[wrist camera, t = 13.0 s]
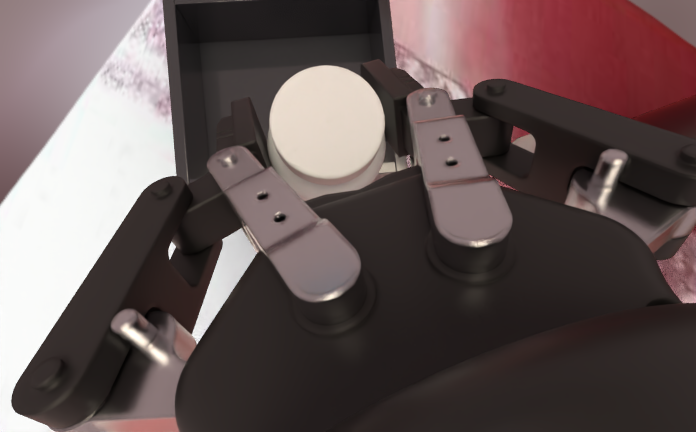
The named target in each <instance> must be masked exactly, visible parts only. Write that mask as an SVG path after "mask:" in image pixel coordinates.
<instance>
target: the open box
mask: <svg viewBox="0 0 696 432" xmlns="http://www.w3.org/2000/svg"><path fill="white" fill-rule="evenodd" d="M163 12H164V24H165V37H166V49H167V62H168V74H169V87H170V99H171V112H172V124H173V137H174V149H175V162H176V174H177V176H178V177H181V178H183V179H184V181H185V182H186V184H187V185H188V184H190V183H192V182H194V181H196V180H198V179H199V178H201V177H203V176H204V175H206V174H207V173H208V172H210V171H209V169H208V168H207V162H208V160H209V159H210V157H211V156H212V155H214V154H215V153H217V125H218V123H219V122H220V120H221V119H222V118H224V117H228V116H231V115H232V114H231V102H233V101H236V100H239V99H243V98H246V97H250V99H251V101H252V104H253V106H254V109H255V111H256V114H257V117H258V119H259V122H260V124H261V127H262V129H263V132H264V135H265V137H266V140H267V139H268V132H269V128H270V126H269V118H270V111H271V107H272V104H273V101H274V98H275V96H276V94H277V93H278V91H279V90H280V88H281V87H282V85H283V84H284V83H285V82H286V81H287V80H288V79H290V78H291V77H292V76H294V75H295V74H297V73H298V72H300V71H303V70H305V69H307V68H311V67H316V66H324V65H329V66H337V67H342V68H345V69H348V70H350V71H352V72H354V73H355V74H357V75H359V76H360V77H361V71H360V66H361V64H363V63H367V62H370V61H373V60H377V59H380V60H381V61H382V62H383V63H384V64H385V65H386V66H387V67H388V68H389V69H391V68H397V67H396V58H395V49H394V39H393V30H392V21H391V12H390V2H389V0H163ZM385 141H386V150H385V157H384V161H383V164H382V167H381V169H380V171H379V173H378V175H377V176H376V178H375V179H374V180H373V182H375V181H377V180H378V179H380V178H382V177H384V176H386V175H388V174H391V173H394V172H397V171H400V170H403V169H406V168H407V160H406V156H403V157H400V158H399V157H398V155H397V154H396V153H395V151H394V150H393V148H392V147H391V146H390V144H389V143H388V141H387V140H386V139H385ZM373 182H372V183H373Z"/></svg>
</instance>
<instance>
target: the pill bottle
mask: <svg viewBox="0 0 696 432" xmlns="http://www.w3.org/2000/svg"><path fill="white" fill-rule="evenodd" d="M269 126H270V128H269V132H268V139H267V148H268V155H269V159H270V163H271V165H272V168H273V169H274V170H275V171H276V172H277V173H278V174H279V175H280V176H281V177H282V178H283V179H284V180H285V181H286V182H287V183H288V185H289V186H290V187H291V188H292V189H293V190H294V191H295V192H296V193H297V194H298V195H299V196H300V197H301V198H302V199H303V200H304V201H307V200H310V199H313V198H316V197H319V196H322V195H326V194H332V193H339V192H346V191H353V190H359V189H361V188H363V187H365V186H367V185H369V184H371V183H372V182H373V180H374V179H375V178H376V176H377V175H378V173H379V171H380V169H381V167H382V164H383V161H384V157H385V150H386V141H385V133H384V130H385V115H384V112H383V108H382V104H381V102H380V99H379V97H378V96H377V94H376V92H375V91H374V90H373V88H372V87H371V86H370V85H369V83H368V82H366V81H365V80H364V79H363V78H362V77H360V76H359V75H357V74H355V73H354V72H352V71H350V70H348V69H345V68H342V67H337V66H329V65H324V66H316V67H311V68H307V69H305V70H303V71H300V72H298V73H297V74H295V75H294V76H292V77H291V78H290V79H288V80H287V81H286V82H285V83H284V84H283V85H282V87H281V88H280V90H279V91H278V93H277V94H276V96H275V98H274V101H273V104H272V107H271V111H270V118H269Z"/></svg>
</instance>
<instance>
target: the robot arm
mask: <svg viewBox="0 0 696 432" xmlns="http://www.w3.org/2000/svg"><path fill="white" fill-rule="evenodd" d="M360 71H361V77H362V78H363V79H364V80H365V81H366V82H368V83H369V85H370V86H371V87H372V88H373V90H374V91H375V92H376V94H377V96H378V97H379V99H380V102H381V104H382V108H383V112H384V115H385V130H384V133H385V139H386V140H387V141H388V143H389V144H390V146H391V147H392V148H393V150H394V151H395V153H396V154H397V155H398V157H399V158H400V157H403V156H406V155H410V162H411V167H410V168H406V169H403V170H400V171H397V172H394V173H391V174H388V175H386V176H384V177H382V178H380V179H378V180H377V181H375V182H373V183H371V184H369V185H367V186H365V187H363V188H361V189H359V190H353V191H346V192H339V193H332V194H326V195H322V196H319V197H316V198H313V199H310V200H307V201H304V200H303V199H302V198H301V197H300V196H299V195H298V194H297V193H296V192H295V191H294V190H293V189H292V188H291V187H290V186H289V185H288V183H287V182H286V181H285V180H284V179H283V178H282V177H281V176H280V175H279V174H278V173H277V172H276V171H275V170H274V169H273V168H272V165H271V163H270V159H269V155H268V148H267V140H266V137H265V135H264V132H263V129H262V127H261V124H260V122H259V119H258V117H257V114H256V111H255V109H254V106H253V104H252V101H251V99H250V97H246V98H243V99H239V100H236V101H233V102H231V114H232V115H231V116H228V117H224V118H222V119H221V120H220V122H219V123H218V125H217V153H215V154H214V155H212V156H211V157H210V159H209V160H208V162H207V168H208V169H209V171H210V172H208V173H207V174H206V175H204V176H203V177H201V178H199V179H198V180H196V181H194V182H192V183H190V184H188V185H187V184H186V182H185V181H184V179H183V178H181V177H178V176H170V177H166V178H163V179H160V180H158V181H156V182H154V183H152V184H151V185H149V186H148V187H147V188H146V189H145V190H144V191H143V192H142V193H141V195H140V196H139V198H138V199H137V201H136V202H135V204H134V205H133V207H132V208H131V210H130V211H129V213H128V215H127V216H126V218H125V219H124V221H123V222H122V224H121V225H120V227H119V228H118V230H117V231H116V233H115V234H114V236H113V237H112V239H111V240H110V242H109V243H108V245H107V246H106V248H105V249H104V251H103V252H102V254H101V256H100V257H99V259H98V260H97V262H96V263H95V265H94V266H93V268H92V269H91V271H90V272H89V274H88V275H87V277H86V278H85V280H84V281H83V283H82V284H81V286H80V287H79V289H78V290H77V292H76V293H75V295H74V297H73V298H72V300H71V301H70V303H69V304H68V306H67V307H66V309H65V310H64V312H63V313H62V315H61V316H60V318H59V319H58V321H57V322H56V324H55V325H54V327H53V328H52V330H51V331H50V333H49V334H48V336H47V338H46V339H45V341H44V342H43V344H42V345H41V347H40V348H39V350H38V351H37V353H36V354H35V356H34V357H33V359H32V360H31V362H30V363H29V365H28V366H27V368H26V369H25V371H24V372H23V374H22V375H21V377H20V379H19V380H18V382H17V384H16V386H15V388H14V391H13V394H12V400H11V402H12V407H13V409H14V411H15V412H16V413H18V414H20V415H23V416H25V417H28V418H30V419H33V420H35V421H38V422H40V423H43V424H45V425H48V427H49V428H50V429H52V430H54V431H56V432H696V303H682V302H681V301H680V299H679V298H678V297H677V296H676V295H675V293H674V292H673V291H672V289H671V288H670V286H669V285H668V283H667V282H666V280H665V278H664V276H663V274H662V273H661V270H660V268H659V265H658V263H657V261H656V260H665V259H668V258H671V257H673V256H674V255H675V254H676V252H677V251H678V250H679V248H680V247H681V245H682V244H683V243H684V241H685V240H686V238H687V237H688V236H689V234H690V233H691V231H692V230H693V229H694V227H695V226H696V95H693V96H691V97H688V98H685V99H683V100H680V101H677V102H674V103H672V104H669V105H666V106H664V107H661V108H658V109H656V110H653V111H650V112H647V113H644V114H642V115H639V116H636V117H634V118H631V119H630V118H627V117H624V116H621V115H617V114H614V113H611V112H608V111H605V110H602V109H599V108H595V107H592V106H589V105H586V104H583V103H580V102H576V101H573V100H570V99H567V98H564V97H561V96H558V95H554V94H551V93H548V92H545V91H542V90H539V89H536V88H532V87H529V86H526V85H523V84H520V83H517V82H514V81H510V80H506V79H491V80H486V81H482V82H480V83H478V84H477V85H476V86H475V87H474V89H473V98H465V99H457V100H450V98H449V95H448V93H447V92H446V91H444V90H442V89H439V88H424V87H422V86H421V85H420V84H419V83H418V82H417V81H415V79H413V78H412V77H410V75H409V74H408V73H407V72H405V71H404V70H401V69H398V68H391V69H389V68H388V67H387V66H386V65H385V64H384V63H383V62H382V61H381V60H380V59H377V60H373V61H370V62H367V63H363V64H361V66H360ZM513 126H515V127H518V128H520V129H522V130H525V131H527V132H529V133H530V134H531V135H532V136H533V137H534V139H535V143H536V146H535V151H534V153H532V152H530V151H528V150H526V149H523V148H521V147H519V146H517V145H515V144H513V143H511V137H512V131H513ZM489 175H491V176H493V177H492V178H491V177H490V176H489ZM494 177H495V178H496V179H498V180H500V181H502V182H504V183H505V184H507V185H509V186H511V187H513V188H514V189H516V190H513V189H510V188H506V187H502V186H499V183H498V181H497V180H496V179H495V178H494ZM517 190H518V191H517ZM240 228H241V229H242V230H243V232H244V233H245V235H246V237H247V238H248V240H249V241H250V243H251V245H252V246H253V248H254V249H255V251H256V252H257V255H256V256H255V258H254V259H253V261H252V262H251V264H250V265H249V267H248V268H247V270H246V271H245V273H244V274H243V276H242V277H241V279H240V280H239V282H238V283H237V285H236V286H235V288H234V289H233V291H232V292H231V294H230V296H229V297H228V299H227V300H226V302H225V303H224V305H223V306H222V308H221V309H220V311H219V312H218V314H217V315H216V317H215V318H214V320H213V321H212V323H211V324H210V326H209V327H208V329H207V330H206V332H205V333H204V335H203V336H202V338H201V340H200V341H199V343H198V344H197V345H196V341H195V339H194V337H193V336H192V332H193V329H194V326H195V323H196V321H197V318H198V315H199V312H200V309H201V306H202V303H203V300H204V298H205V295H206V292H207V289H208V286H209V283H210V280H211V278H212V275H213V272H214V269H215V266H216V263H217V260H218V258H219V255H220V252H221V249H222V245H223V242H222V239H223V238H225V237H227V236H228V235H230V234H232V233H234V232H235V231H237V230H239V229H240ZM171 241H172V242H173V243H174V245H175V246H176V248H175V250H174V253H173V255H172V257H171V259H170V260H169V256H168V249H169V246H170V243H171Z"/></svg>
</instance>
